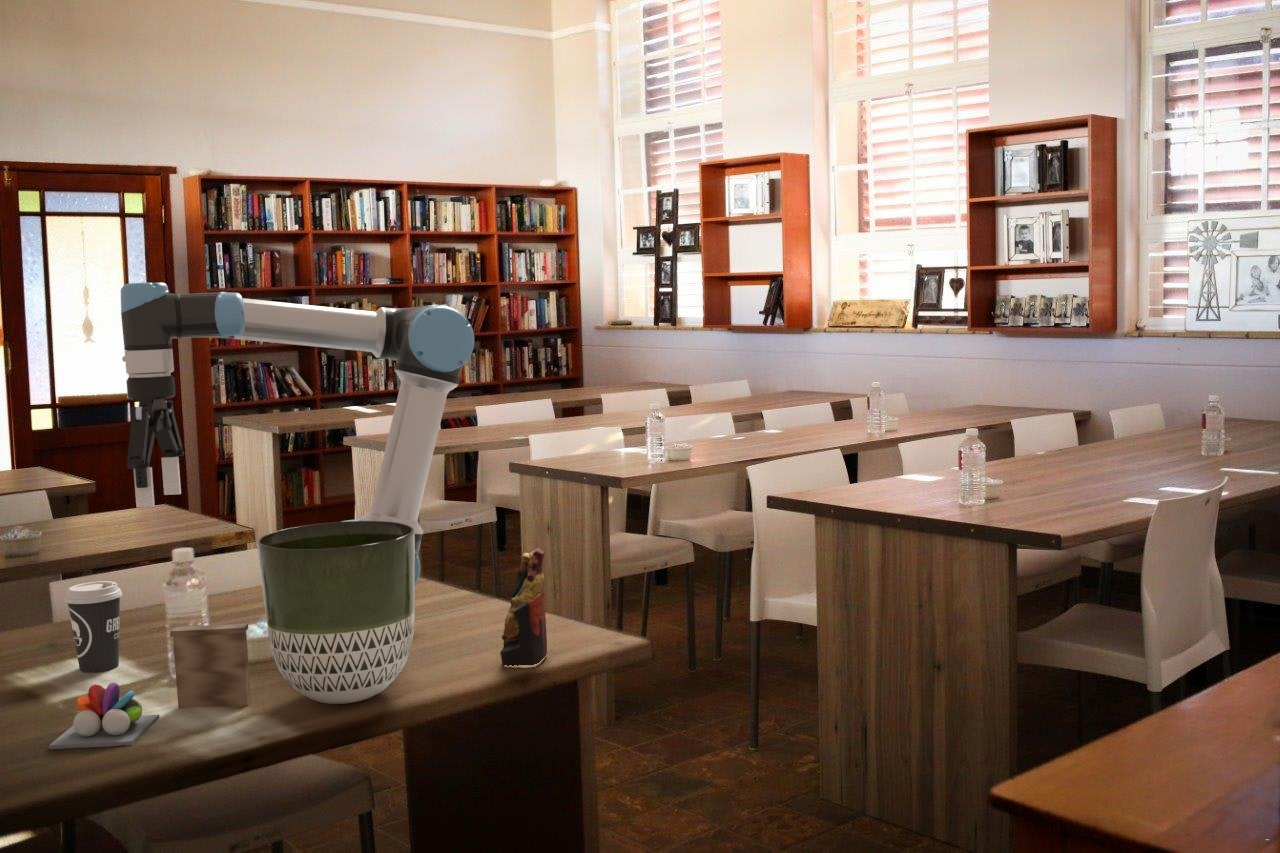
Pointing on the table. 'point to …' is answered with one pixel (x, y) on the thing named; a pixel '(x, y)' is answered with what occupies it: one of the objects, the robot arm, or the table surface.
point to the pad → (105, 736)
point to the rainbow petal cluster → (106, 711)
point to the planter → (339, 606)
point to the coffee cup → (95, 624)
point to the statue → (526, 615)
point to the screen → (211, 666)
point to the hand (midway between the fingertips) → (159, 500)
